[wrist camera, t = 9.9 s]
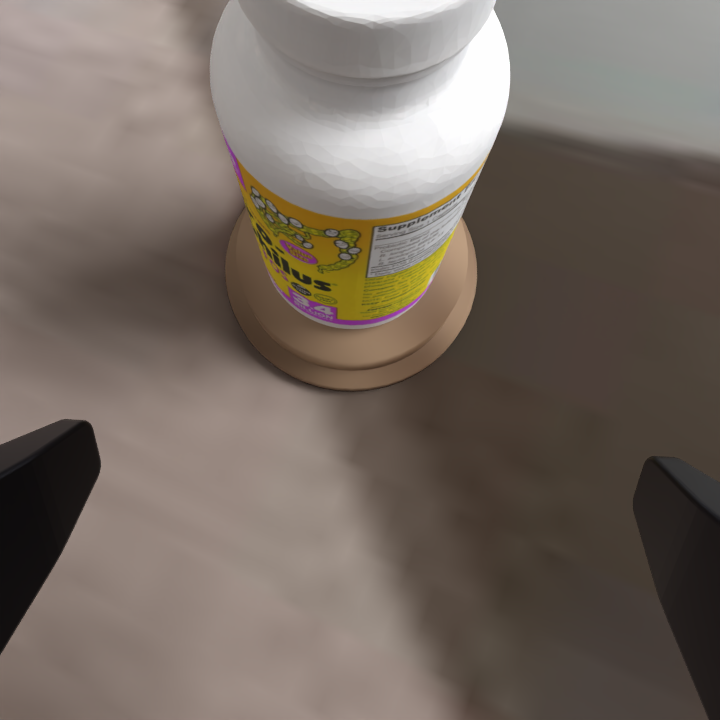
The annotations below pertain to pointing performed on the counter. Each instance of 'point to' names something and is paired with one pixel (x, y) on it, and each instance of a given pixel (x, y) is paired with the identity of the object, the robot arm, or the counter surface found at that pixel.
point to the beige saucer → (349, 346)
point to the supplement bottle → (357, 140)
